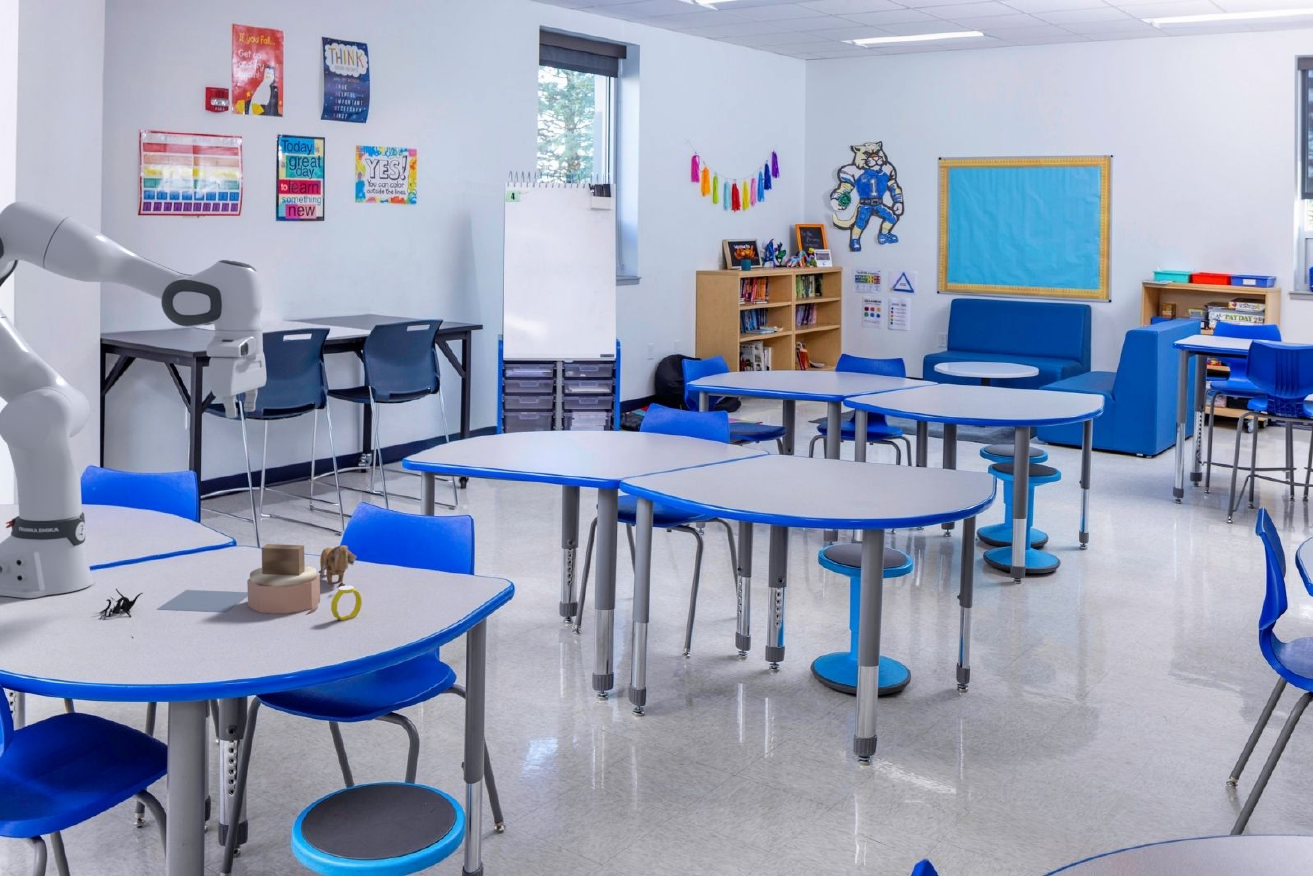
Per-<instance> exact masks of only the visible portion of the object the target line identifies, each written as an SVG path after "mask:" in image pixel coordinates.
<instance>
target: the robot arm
mask: <svg viewBox="0 0 1313 876" xmlns="http://www.w3.org/2000/svg"><path fill="white" fill-rule="evenodd" d="M19 261H23V262H27V263H29V264H33V265H35V266H37V267H39V268H42V270H46V271H48V272H51V273H53V274H56V275H59V276H61V277H63V278H68V279H71V280H75V281H81V282H86V283H87V282H88V283H91V282H92V283H94V282H95V283H110V284H111V283H113V284H119V285H124V286H127V287H131V288H133V289H135V290H137V291H141V292H143V293H145V294H148V295H150V296H152V297H155V298H158V299H160V300H161V308H162V311H163V313H164V314H165V316H166V317H167V319H168V320H169V321H170V322H172V323H174V324H176V325H178V326H181V327H185V328H195V327H200V326H210V325H214V336H213V338H212V340H211V341H210V342H209V343H208V344H207V345H206V356H207V357H210V359H209V362H208V373H209V374H208V375H209V383H210V384H209V385H210V391H211V393H212V394H213V396H214V397H221V399H222V403H223V406H224V409H225V417H226V418H227V419H235V418H237V417H238V415H239V414H238V411H239V410H238V408H237V406H236V402H235V401H236V400H237V399H236V397H237V396H236V395H239V394H245V401H244V403H243V410H244V412H246V413H247V412H250V413H251V412H254V411H255V410H256V401H257V397H258V391H259V390H258V388H262V387H265V386H266V382H267V366H266V358H265V357H266V356H265V353H264V346H263V345H264V344H263V343H264V341H263V339H264V337H263V324H262V323H261V312H262V307H263V304H262V302H263V299H262V286H261V279H260V275H259V272H258V271H257V269H256V268H255V267H254V266H252V265H250V264H248V263H244V262H242V261H241V262H240V261H235V260H229V259H221V260H218V261H216V262H215V263H214V264H212V265H211V266H210V267H208V268H206V269H203V270H201V271H199V272H197V273H194V274H186V273H182V272H179V271H176V270H174V269H172V268H169V267H167V266H164V265H161V264H159V263H156V262H154V261H152V260H150V259H147V258H145V257H142V256H140V255H139V254H136V253H134V252H132V251H131V250H129V249H127V248H125V247H124V246H123V245H121V244H119V243H117V242H116V241H114V240H113V239H111V238H109V236H106V235H105V234H103V233H101V232H99V231H98V230H96V229H95V228H93V227H91V226H90V225H88V224H86V223H84V222H83V221H80V220H78V219H76V218H74V217H71V216H69V215H67V214H65V213H62V212H59V211H57V210H54V209H51V208H48V207H46V206H42V205H38V204H36V203H35V204H34V203H30V202H26V201H16V202H11V203H10V204H8V205H7V206H6V207H4V209H2V211H0V288H1V287H2V285H3V284H4V283H5V282H6V280H7V279H8V278H9V277H10V276H11V275H12V274H13V273H14V271H15V270H16V268H17V266H18V263H19ZM0 398H1V399H3V401H4V402H6V403H7V404H5V406H3V408H2V409H1V411H0V437H1V438H2V440H3V441H4V442H5V443H6V445H7V448H8V451H9V455H10V458H11V461H12V464H13V467H14V472H15V478H16V485H17V486H16V487H17V488H16V489H17V501H18V503H17V504H18V516H16V517H14V518H12V519H11V520H10V521H7V522H5V525H6V524H7V525H6V526H5V529H9V528H11V533H10V535H9V536H7V537H6V538H5V539H4V540H2V541H1V542H0V596H4V597H13V598H20V599H21V598H22V599H34V598H40V597H41V598H42V597H45V596H50V595H59V594H65V593H71V592H74V591H75V592H76V591H79V590H82V589H85V588H88V587H90V586H92V585H93V584H94V583H95V580H94V577H93V574H92V572H91V571H92V570H91V569H90V565H89V560H88V557H87V551H86V544H85V541H86V520H85V513H84V512H83V508H82V507H83V505H82V485H81V484H82V483H81V474H80V472H79V470H78V468H77V467H76V464H75V461H74V458H73V455H72V452H71V447H70V438H72V437H75V436H76V435H77V434H79V433H80V432H81V431H82V430H83V428H84V427H85V425H86V424H87V423H88V421H89V418H90V415H91V405H90V402H89V401H88V399H87V396H86V395H85V394H84V393H83V392H82V391H80V390H79V389H78V388H75V387H73V386H72V385H70V383H68V382H67V381H66V380H65V379H64V377H62V376H61V374H59V373H58V372H57V371H56V370H54V369H53V368H52V367H51V366H50V365H49V364H48V363H47V362H46V361H45V360H44V359H42V358H41V357H40V355H38V354H37V352H35V350H34V349H33V348H32V347H31V346H30V345H29V344H28V342H27V341H26V340H25V338H24V337H23V335H22V334H21V333H20V331H19V330H17V328H16V327H15V325H14V324H13V323H12V322H11V320H10V319H9V317H8V316H7V314H5V312H4V311H3V309H1V308H0Z"/></svg>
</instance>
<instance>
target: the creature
mask: <svg viewBox="0 0 1313 876" xmlns="http://www.w3.org/2000/svg"><path fill="white" fill-rule="evenodd" d="M115 590H116V592H117V593H118V595H120V598H118V599H117V600H115V602H116V605H115V604H114V603H113V602H114V598H113V597H112V596H110V599H109V598H108V599H106V601H107V602H108V605H107V606H106V608H104V609H103V610H101V611H100V612H98V614H100V613H101V614H102V613H104V614H102V615H100V618H99V620H102V618H103V620H105V619H106V618H111V615H112V614H116V615H118V614H120V612H121V610H122V611H123V612H124V613H126V614H127V616H128V617H129V618H132V615H131V609H132V608H133V607H134V605H135V604H136V602H137V600H138V598H139V597H140V596H141V595H142V594H143V592H140V593H138V594H137V595H136V596H135V598H133V599H132V600H130V599H129V598H128V597H126V596H124V595H123V594H122V593H121V592H120V591H119V590H118V588H116V589H115ZM112 603H113V604H112ZM112 605H113V607H112ZM111 607H112V608H111ZM108 610H109V612H108ZM107 613H108V614H107Z"/></svg>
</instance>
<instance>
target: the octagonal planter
mask: <svg viewBox="0 0 1313 876" xmlns="http://www.w3.org/2000/svg"><path fill="white" fill-rule="evenodd" d="M246 582H247V584H246V585H247V592H248V597H247V607H248V608H249V609H250V608H251V609H253V611H256V612H259V613H263V614H264V613H265V614H275V615H276V614H279V615H280V614H284V615H285V614H292V613H299V612H304V611H308V610H309V611H308V612H307V613H306V614H305V616H307V615H309V614H313V613H314V612H316V611H317V610H318V604H319V603H320V602H321V576H320V574H317V578H316V579H315V580H313V581H311V582H308V583H305V584H300V585H294V586H283V587H271V586H262V585H257V584H254V583H252V582H251V581H250V578H249V579H247V581H246Z"/></svg>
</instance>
